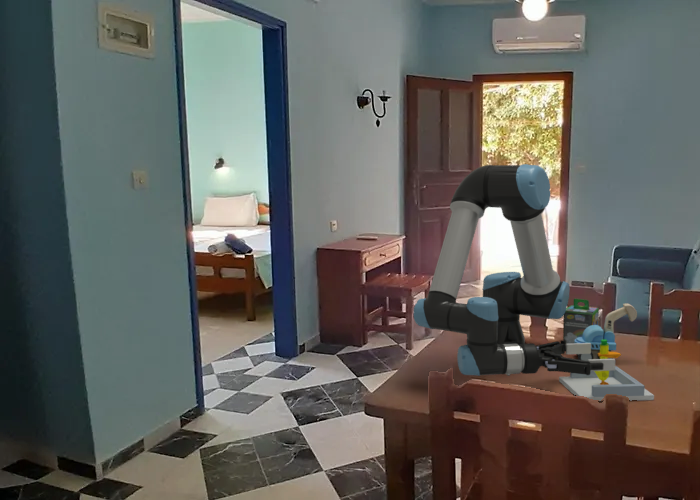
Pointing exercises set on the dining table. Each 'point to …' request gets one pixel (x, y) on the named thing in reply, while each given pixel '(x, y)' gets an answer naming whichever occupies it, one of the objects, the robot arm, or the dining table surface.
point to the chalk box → (578, 320)
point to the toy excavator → (604, 332)
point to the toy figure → (605, 355)
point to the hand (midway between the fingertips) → (602, 356)
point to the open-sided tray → (617, 385)
